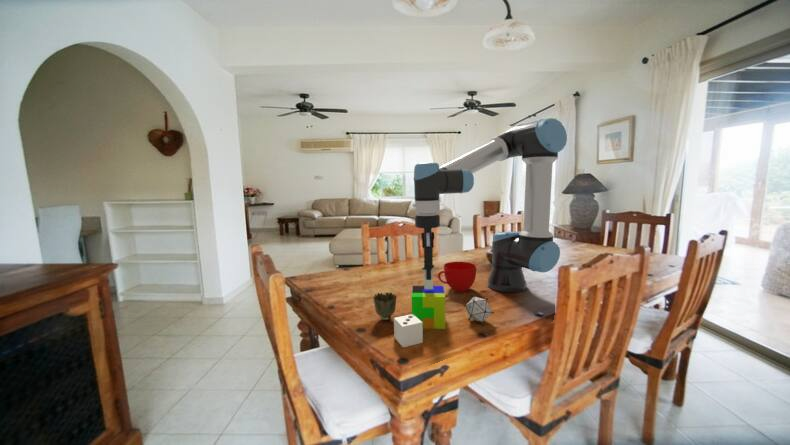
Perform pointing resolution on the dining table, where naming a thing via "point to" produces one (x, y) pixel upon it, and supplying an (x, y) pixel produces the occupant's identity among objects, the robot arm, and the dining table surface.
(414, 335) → the pip block
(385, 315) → the cup
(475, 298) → the game die
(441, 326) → the puzzle toy
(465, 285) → the ceramic cup
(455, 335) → the dining table surface
